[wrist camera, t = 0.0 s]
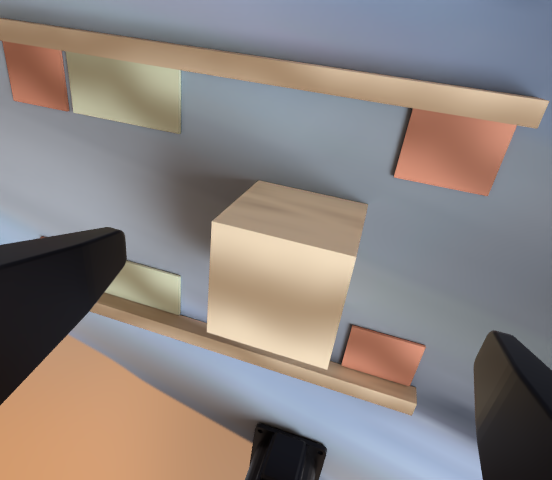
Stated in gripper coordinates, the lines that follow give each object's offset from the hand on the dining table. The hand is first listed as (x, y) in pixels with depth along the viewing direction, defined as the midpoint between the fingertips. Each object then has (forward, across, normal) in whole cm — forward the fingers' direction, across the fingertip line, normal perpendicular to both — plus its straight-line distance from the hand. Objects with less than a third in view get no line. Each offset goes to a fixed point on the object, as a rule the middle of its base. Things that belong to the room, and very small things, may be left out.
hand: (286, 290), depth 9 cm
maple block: (+15, +2, +6) cm, 16 cm away
